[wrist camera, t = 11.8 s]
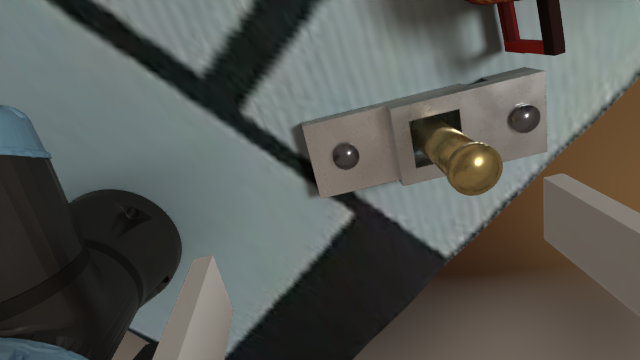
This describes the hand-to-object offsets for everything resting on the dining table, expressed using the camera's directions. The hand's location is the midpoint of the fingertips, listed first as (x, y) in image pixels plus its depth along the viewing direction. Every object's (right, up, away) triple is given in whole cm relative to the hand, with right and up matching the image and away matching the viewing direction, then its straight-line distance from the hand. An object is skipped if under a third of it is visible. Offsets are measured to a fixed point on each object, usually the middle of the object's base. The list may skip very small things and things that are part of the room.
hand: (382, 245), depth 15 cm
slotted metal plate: (+10, +8, +31) cm, 34 cm away
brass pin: (+10, +8, +31) cm, 34 cm away
